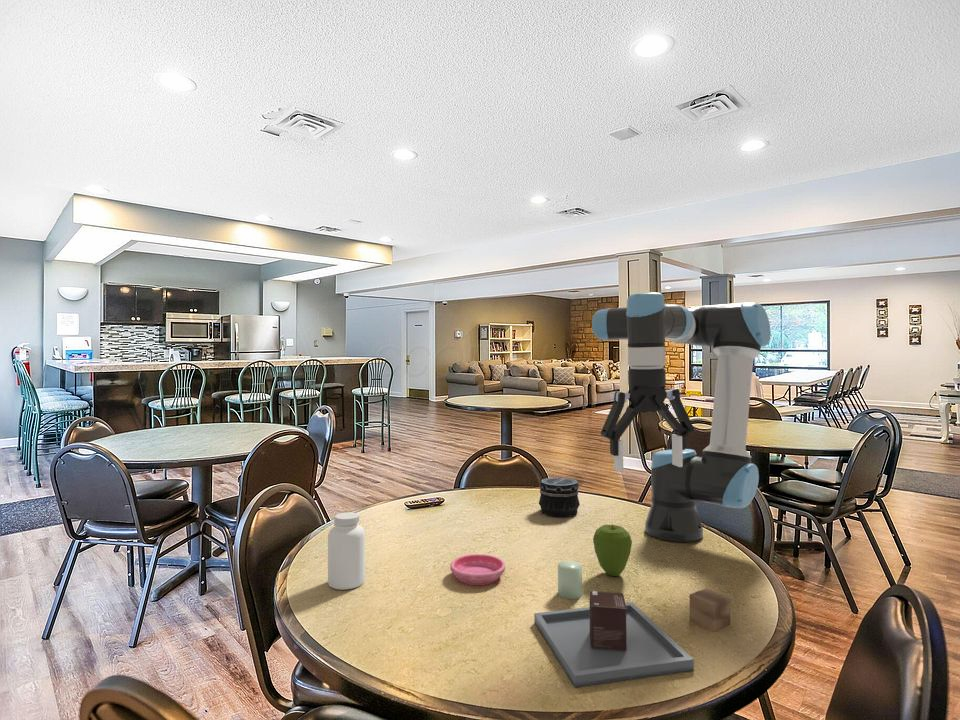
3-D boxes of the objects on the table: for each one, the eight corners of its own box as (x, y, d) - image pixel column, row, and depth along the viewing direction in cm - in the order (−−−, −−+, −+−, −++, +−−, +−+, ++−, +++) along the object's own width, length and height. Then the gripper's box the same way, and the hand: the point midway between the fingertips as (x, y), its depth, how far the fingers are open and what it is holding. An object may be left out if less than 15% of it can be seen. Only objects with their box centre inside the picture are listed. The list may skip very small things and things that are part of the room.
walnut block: (706, 613, 104) (706, 588, 104) (730, 624, 100) (730, 598, 100) (689, 620, 101) (689, 594, 101) (713, 632, 97) (713, 604, 97)
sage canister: (576, 587, 116) (576, 559, 116) (585, 598, 111) (585, 569, 111) (554, 590, 115) (554, 562, 115) (563, 600, 110) (562, 571, 110)
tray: (632, 611, 105) (632, 602, 105) (693, 670, 85) (693, 659, 85) (534, 622, 101) (534, 613, 101) (574, 687, 81) (574, 675, 81)
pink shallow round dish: (478, 562, 131) (478, 549, 131) (516, 577, 122) (516, 563, 122) (439, 577, 122) (439, 563, 122) (477, 594, 113) (476, 579, 113)
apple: (585, 570, 125) (585, 521, 125) (615, 564, 128) (615, 516, 128) (609, 585, 117) (608, 532, 117) (640, 578, 120) (639, 527, 120)
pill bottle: (371, 578, 122) (371, 512, 121) (352, 593, 114) (351, 522, 114) (341, 573, 124) (341, 508, 124) (320, 588, 117) (319, 519, 116)
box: (627, 652, 90) (626, 608, 90) (590, 649, 91) (589, 605, 91) (623, 633, 96) (623, 592, 96) (589, 630, 97) (589, 590, 97)
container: (539, 506, 178) (539, 475, 178) (578, 507, 176) (578, 477, 176) (538, 517, 165) (538, 485, 165) (580, 519, 163) (580, 486, 163)
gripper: (689, 364, 119) (690, 459, 120) (583, 369, 114) (585, 468, 114) (710, 365, 112) (712, 467, 112) (598, 370, 106) (601, 477, 107)
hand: (648, 468), depth 113 cm, fingers open, 13 cm apart
